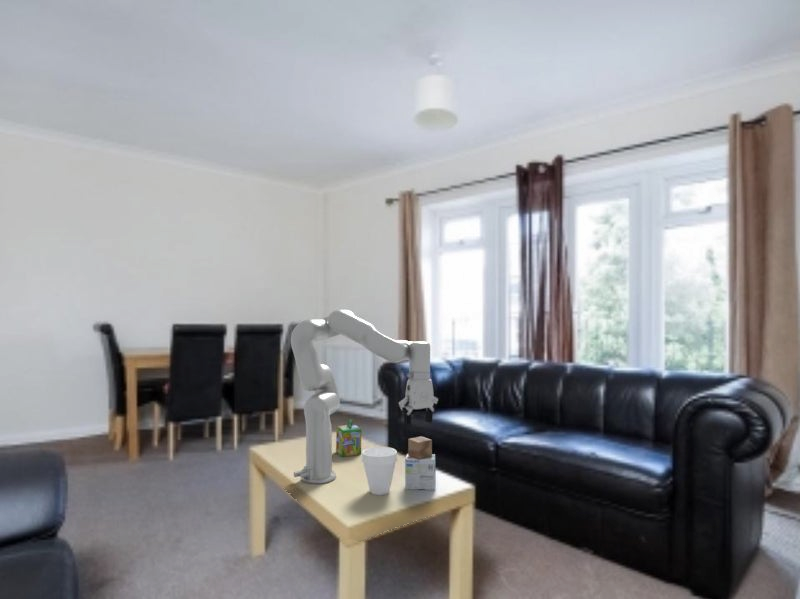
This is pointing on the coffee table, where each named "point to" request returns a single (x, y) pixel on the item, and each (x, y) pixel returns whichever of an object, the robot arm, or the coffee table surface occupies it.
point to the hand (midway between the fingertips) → (418, 423)
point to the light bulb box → (420, 473)
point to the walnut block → (420, 447)
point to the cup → (379, 468)
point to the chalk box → (348, 440)
